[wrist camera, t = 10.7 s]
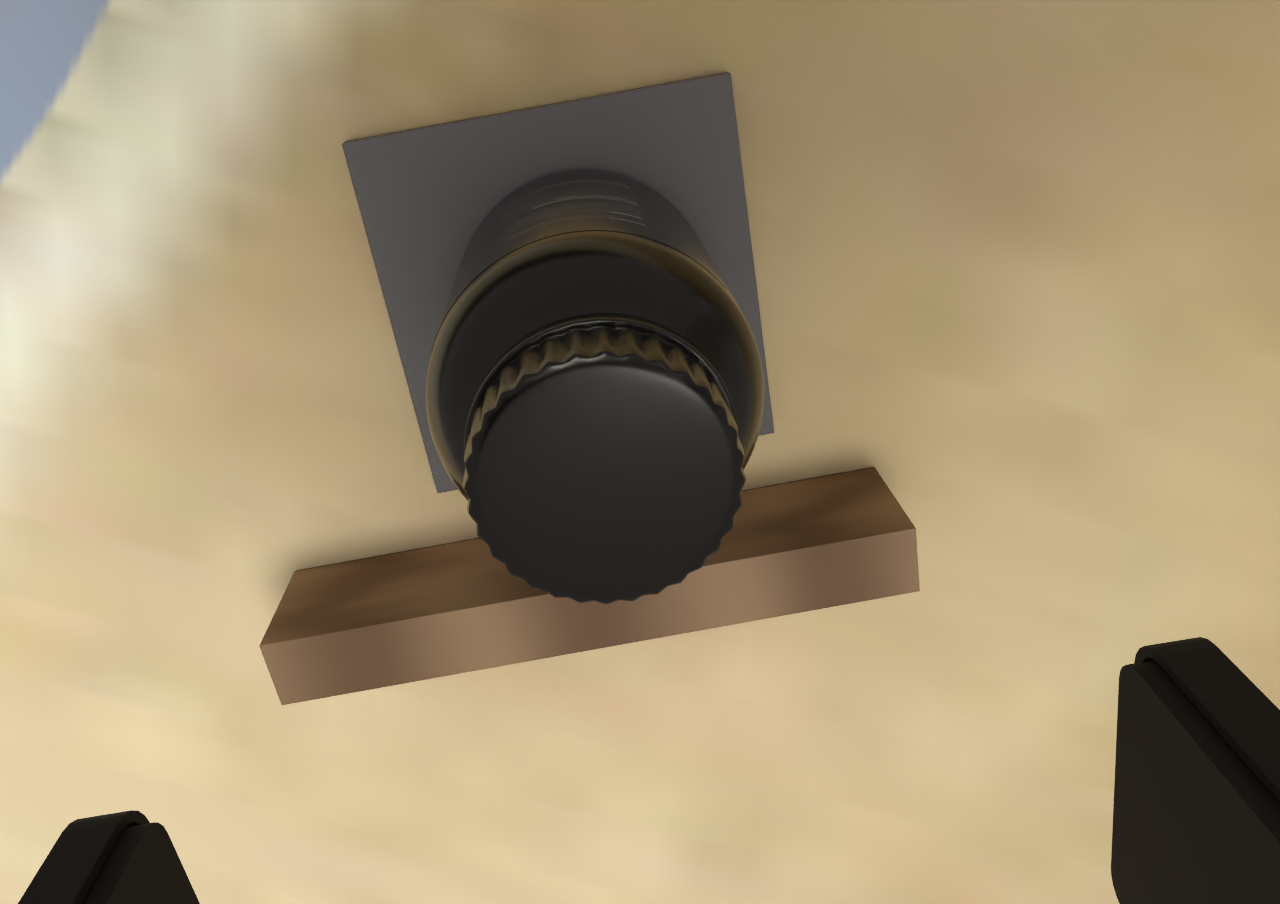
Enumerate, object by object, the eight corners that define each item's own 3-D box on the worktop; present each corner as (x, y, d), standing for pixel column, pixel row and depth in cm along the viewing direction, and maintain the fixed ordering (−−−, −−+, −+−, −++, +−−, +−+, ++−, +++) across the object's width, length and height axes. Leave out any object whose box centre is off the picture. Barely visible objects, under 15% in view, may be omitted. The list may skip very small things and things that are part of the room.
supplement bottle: (421, 353, 28) (333, 573, 17) (519, 120, 26) (487, 202, 15) (645, 447, 30) (692, 703, 19) (755, 234, 28) (882, 384, 17)
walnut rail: (874, 467, 31) (915, 528, 28) (879, 524, 32) (919, 591, 29) (295, 571, 31) (259, 645, 28) (313, 625, 32) (281, 705, 29)
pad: (726, 72, 27) (730, 73, 26) (770, 424, 31) (774, 432, 30) (346, 140, 27) (341, 144, 26) (439, 484, 31) (437, 493, 30)
